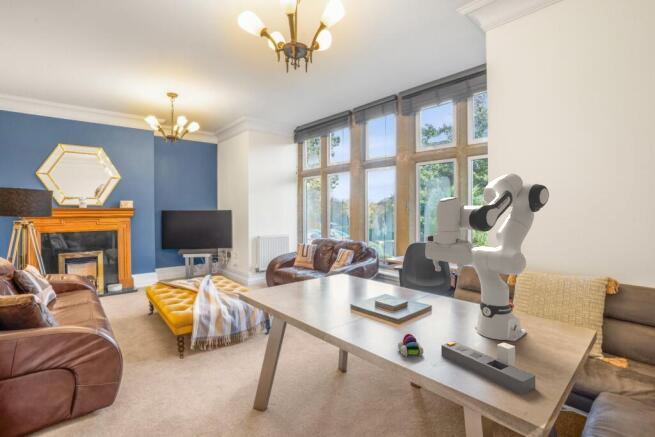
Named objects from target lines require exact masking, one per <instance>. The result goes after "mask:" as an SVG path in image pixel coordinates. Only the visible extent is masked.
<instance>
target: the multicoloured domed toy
mask: <svg viewBox="0 0 655 437" xmlns="http://www.w3.org/2000/svg"><path fill="white" fill-rule="evenodd" d="M397 349H398V350H399V352H400V353H401V355H402V356H403V357H407V356H408V355H417V356H418V357H422V355H423V354H424V348H423V346H422V345H421V344H420V342H419V341H418V340H417V338H416V337H415V335H413V334H411V333H407V334H405V335H404V337H403V338H402V340H400V341H398V343H397Z"/></svg>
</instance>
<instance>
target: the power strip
mask: <svg viewBox="0 0 655 437" xmlns="http://www.w3.org/2000/svg"><path fill="white" fill-rule="evenodd" d="M440 353H441V354H440V355H441V357H443V358H446V359H448V360H450V361H451V362H454V363H455V364H458V365H460V366H462V367H463V368H465V369H468V370H470V371H472V372H474V373H476V374H478V375H481V376H482V377H484V378H485V379H489V380H491V381H493V382H495V383H497V384H499V385H501V386H503V387H505V388H507V389H509V390H510V391H513V392H516V393H518V394H519V395H521V396H524V395H525V394H527V393H529V392H531V391H534V390H535V389H536V375H535V374H533V373H531V372H528V371H525V370H523V369H521V368H520V367H519V368H518V367H516V366H515V367H514V366H512V365H509V364H507V363H504V362H502V361H500V360H497V358H495V357H492V356H490V355H488V354H485V353H483V352H481V351H478V350H476V349H473V348H471V347H468V346H466V345H464V344H462V343H460V342H457V341H454V340H453V341H449V342H446V343H444V344H441V352H440Z"/></svg>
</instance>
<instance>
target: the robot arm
mask: <svg viewBox="0 0 655 437" xmlns="http://www.w3.org/2000/svg"><path fill="white" fill-rule="evenodd" d="M482 193H483V199H484V201H485V202H486V203H487V204H485V205H484V204H482V205H465V204H463V203H462V202H460V200H459V198H458V197H456V196H452V197H450V196H448V197H444V198H441V199H439V200H438V202H437V205H436V213H435V214H436V217H435V219H436V224H437V226H436V229H435V230H436V232H435V233H433V234H431V235H426V236H425V241H426V243H425V247H424V248H425V250H424V251H425V252H424V253H425V254H424V257H425V258H426V259H429V260H432V263H433V266H434V267H435V268H434V270H435V271H436V272H441V271H442V267H441V266H440V264H439V262H440V261H441V262H445V263H446V262H447V263H451V264H456V267H457V269H456V270H454V275H455V276H461V275H462V270H463V268H464V266H469V265H471V266H472V267H473V269H474V270H475V272H476V275H477V276H478V279H479V283H480V294H481V295H480V297H481V299H480V301H479V309H480V310H479V311H478V312H477V314H478V315H477V323H476V325H474V328H475V329H476V332H477V333H478V334H479V335H481V336H483V337H484V338H485V337H486V338H489V339H493V340H499V341H500V340H501V341H502V340H503V341H511V342H516V341H517V340H520V338H522V336H524V335H526V334H527V330H526V329H525V328H522V327H521V320H520V318H519V317H518V316H517V315H516V314H514V312H512V309H515V303H511V302H510V288H509V285H508V284H507V283H506V282H505V281H504V280H503V278H502V277H501V275H511V276H516V275H520V274H522V273H523V272H524V271H525V269H526V266H527V260H526V257H525V255H524V254H523V253H522V252H521V251H522V250H521V248H522V244H523V242H524V240H525V238H527V237H526V236H527V235H528V233H529V231H530V229H531V228H532V226H533V223H534V219H535V213H537V212H539V211H540V210H541V209H542V208H544V207H545V206H546V204H547V203H548V201H549V198H550V192H549V189H548V188H547V186H545V185H543V184H538V183H535V184H532V183H524V182H523V179H522V177H521V176H520V175H518V174H516V173H511V172H510V173H506V174H504V175H501V176H499V177H497V178H495V179H494V180H492V181H491V182H489V183H488V184H487V185H486V186H485V188H483V192H482ZM510 207H511V208H512V210H511V211H510V212H509V214H508V215H506V216H505V218H504V220H503V221H502V223H501V225H500V226H499V228H498V230H497V231H496V232H495V238H496V241H497V242H498V243H499V245H498V246H497V247H492V246H487V245H486V246H483V245H482V246H475V247H472V245H473V244H472V243H471V241H470V240H467V239H461V230H470V231H478V232H484V233H487V232H489V231H491V230H492V229H493V228H494V227H495V225H496V223H497V222H498V220H499V219H500V218H501V216H502V215H503V214H504V213H505V212H506V210H508V209H509V208H510ZM500 274H501V275H500Z"/></svg>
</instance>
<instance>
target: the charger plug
mask: <svg viewBox="0 0 655 437" xmlns="http://www.w3.org/2000/svg"><path fill="white" fill-rule="evenodd" d="M496 345H497V346H496V359H497V360H500V361H502V362H504V363H507V364H509V365H512V366H514V367H516V346H515V345H512V344H509V343H506V342H501V343H498V344H496Z"/></svg>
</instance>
